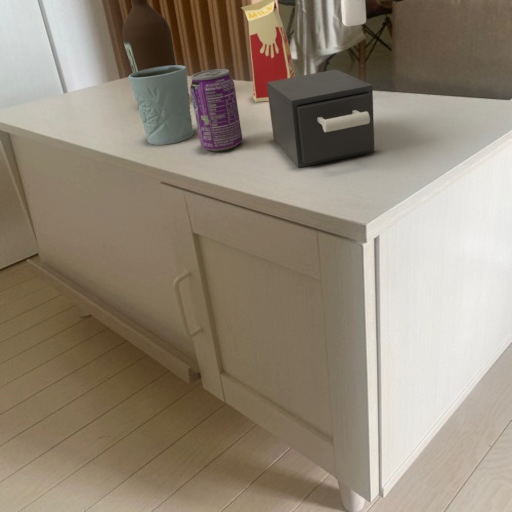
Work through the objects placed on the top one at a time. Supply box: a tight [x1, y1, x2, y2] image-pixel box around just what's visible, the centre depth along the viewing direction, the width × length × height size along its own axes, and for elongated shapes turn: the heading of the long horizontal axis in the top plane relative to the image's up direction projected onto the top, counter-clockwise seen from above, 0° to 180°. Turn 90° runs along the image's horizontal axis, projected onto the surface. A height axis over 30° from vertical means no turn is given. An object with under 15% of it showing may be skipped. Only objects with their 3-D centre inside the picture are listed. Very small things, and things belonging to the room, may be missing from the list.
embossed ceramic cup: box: [128, 64, 194, 146], centre depth 98 cm, size 10×10×12 cm
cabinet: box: [267, 69, 375, 169], centre depth 82 cm, size 15×12×10 cm
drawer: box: [297, 93, 375, 163], centre depth 78 cm, size 18×10×8 cm, turn 12°
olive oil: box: [121, 0, 177, 74], centre depth 120 cm, size 11×11×25 cm
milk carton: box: [240, 0, 296, 103], centre depth 113 cm, size 9×9×20 cm
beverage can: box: [189, 68, 243, 152], centre depth 88 cm, size 7×7×12 cm
